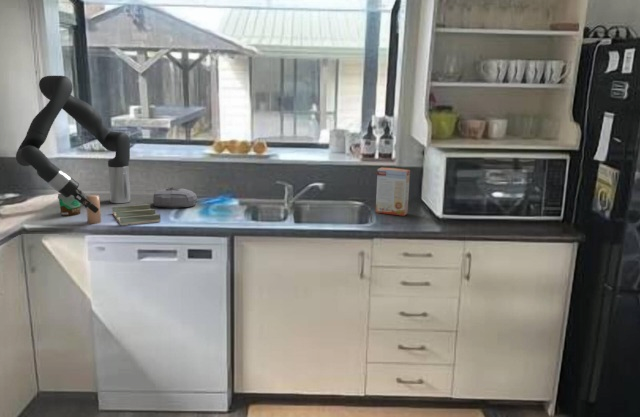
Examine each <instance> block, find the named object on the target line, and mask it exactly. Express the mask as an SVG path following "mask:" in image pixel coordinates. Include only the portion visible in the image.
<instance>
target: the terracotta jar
mask: <svg viewBox="0 0 640 417" xmlns="http://www.w3.org/2000/svg"><path fill="white" fill-rule="evenodd" d="M86 197H87V198H88V200H89V201H90V202H91V203H92V204H93V205H94V206H96V207H97V208H98V209H99V210H98V211H97V212H96V213H94V212H93V211H92V210H90V209H89V208H86V218H87V219H86V220H87V224H90V225H92V224H99V223H101V222H102V218H101V216H102V215H101V201H100V195H98V194H88V195H87V196H86ZM87 203H88V202H86V203H85V204H87Z"/></svg>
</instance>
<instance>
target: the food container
mask: <svg viewBox="0 0 640 417" xmlns="http://www.w3.org/2000/svg"><path fill="white" fill-rule="evenodd" d="M77 189H78V188H77ZM78 190H80V189H78ZM57 200H58V201H59V210H60V214H61V217H74V216H78V215H80V214H81V206H82V204H80V203H79V202H78V201H76V200H75V199H74V196H73V195H70V196H69V197H67V198H66V197H64V196H63V195H62V194H60V193H58V194H57Z"/></svg>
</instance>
